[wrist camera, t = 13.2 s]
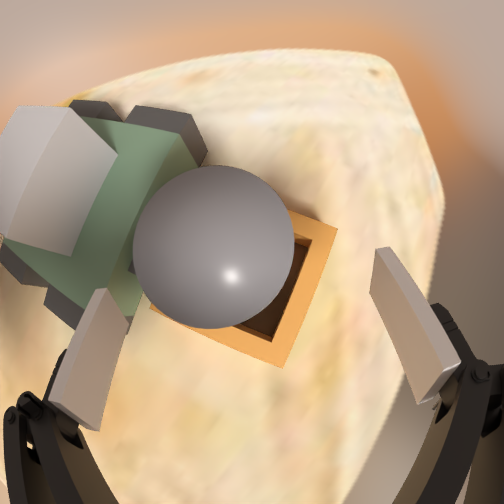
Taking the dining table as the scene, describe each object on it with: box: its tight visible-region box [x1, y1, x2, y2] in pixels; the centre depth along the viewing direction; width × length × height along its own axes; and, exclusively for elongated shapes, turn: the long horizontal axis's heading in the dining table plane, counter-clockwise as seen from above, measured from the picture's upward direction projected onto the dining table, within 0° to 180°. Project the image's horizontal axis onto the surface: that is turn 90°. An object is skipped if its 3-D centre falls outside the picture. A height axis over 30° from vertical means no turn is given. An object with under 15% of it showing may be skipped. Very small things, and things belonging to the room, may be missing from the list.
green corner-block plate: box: [0, 100, 338, 368], centre depth 18 cm, size 30×19×13 cm, turn 67°
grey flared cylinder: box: [133, 166, 294, 329], centre depth 17 cm, size 6×6×13 cm
